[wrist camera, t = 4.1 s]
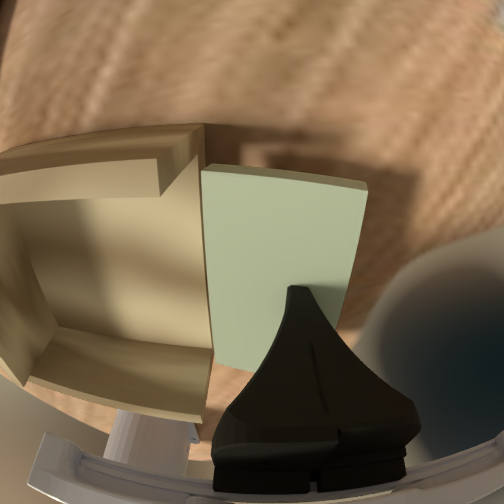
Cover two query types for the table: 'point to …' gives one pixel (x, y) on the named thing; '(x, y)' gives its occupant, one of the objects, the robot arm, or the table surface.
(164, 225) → the crate
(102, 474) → the robot arm
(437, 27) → the table surface
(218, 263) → the panel
